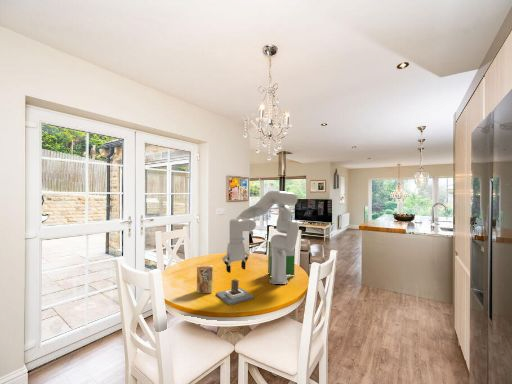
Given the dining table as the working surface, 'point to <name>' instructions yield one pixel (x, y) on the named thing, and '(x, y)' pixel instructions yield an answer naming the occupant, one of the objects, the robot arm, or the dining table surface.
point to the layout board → (234, 296)
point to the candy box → (204, 278)
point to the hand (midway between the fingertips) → (236, 270)
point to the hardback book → (289, 261)
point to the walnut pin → (234, 286)
